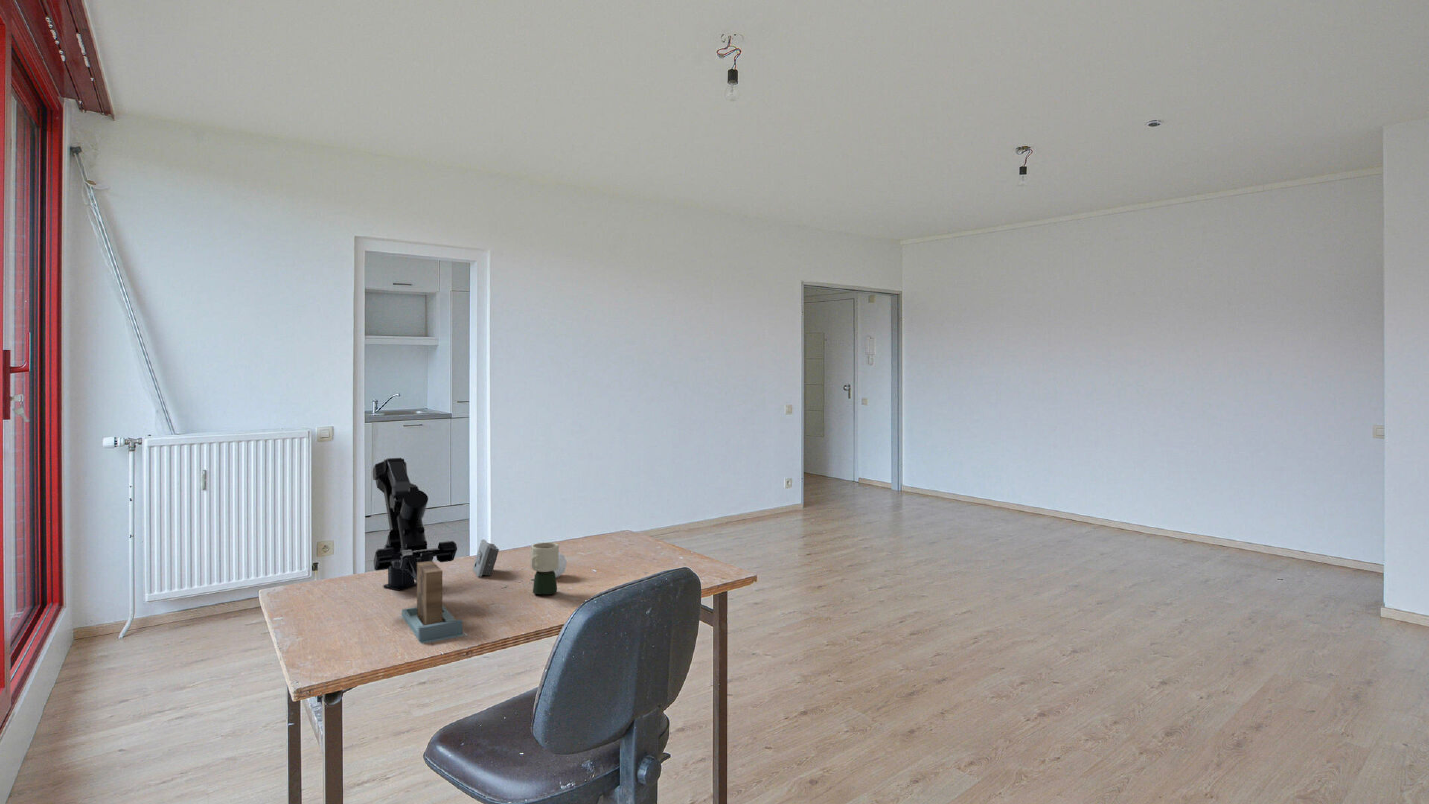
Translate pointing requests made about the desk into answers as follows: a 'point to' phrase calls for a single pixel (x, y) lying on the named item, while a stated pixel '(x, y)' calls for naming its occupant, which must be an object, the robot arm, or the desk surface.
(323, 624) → the desk surface
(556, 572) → the geometric ball
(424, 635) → the slot base
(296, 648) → the desk surface
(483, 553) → the electrical switch
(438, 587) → the brown wooden block
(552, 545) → the character mug
